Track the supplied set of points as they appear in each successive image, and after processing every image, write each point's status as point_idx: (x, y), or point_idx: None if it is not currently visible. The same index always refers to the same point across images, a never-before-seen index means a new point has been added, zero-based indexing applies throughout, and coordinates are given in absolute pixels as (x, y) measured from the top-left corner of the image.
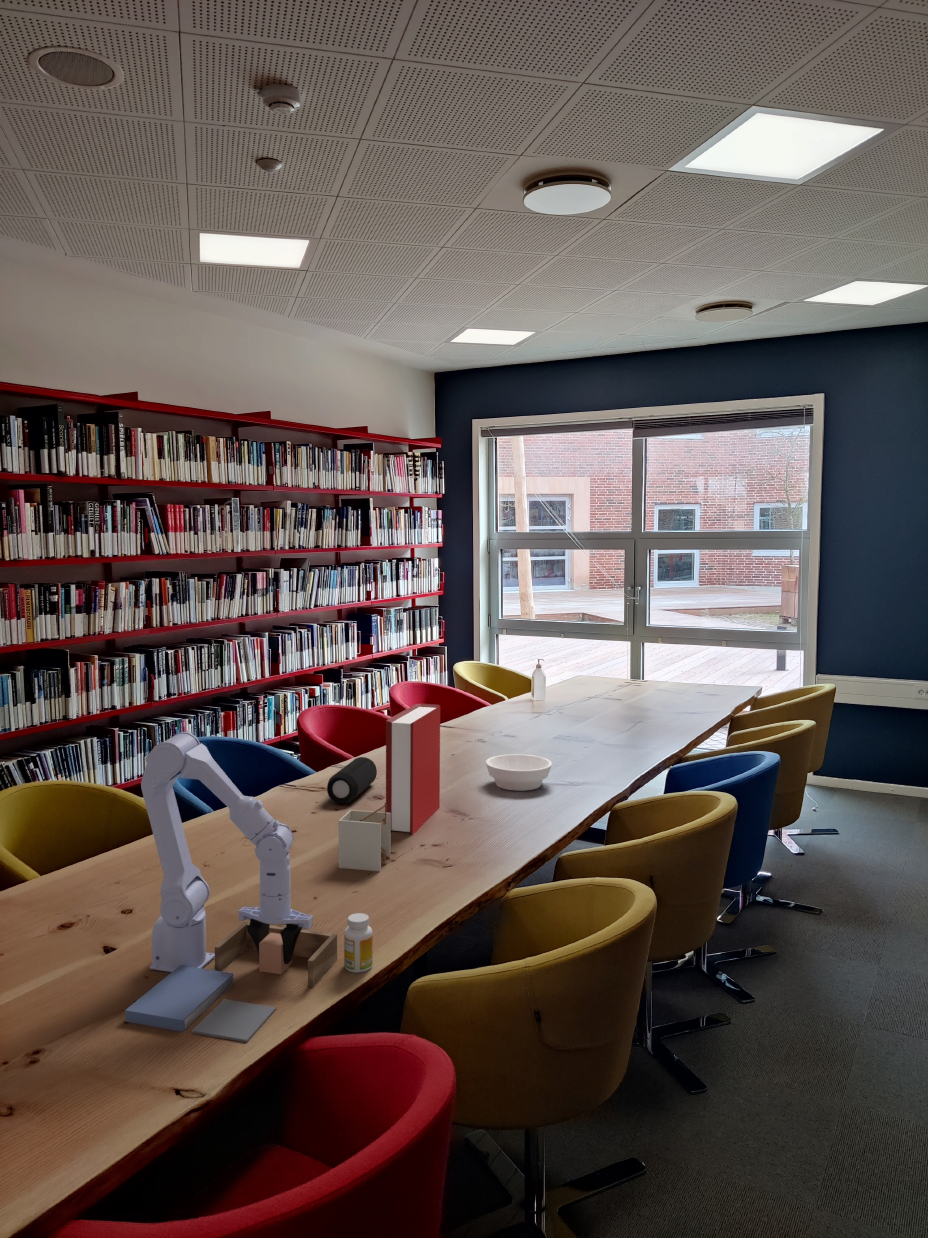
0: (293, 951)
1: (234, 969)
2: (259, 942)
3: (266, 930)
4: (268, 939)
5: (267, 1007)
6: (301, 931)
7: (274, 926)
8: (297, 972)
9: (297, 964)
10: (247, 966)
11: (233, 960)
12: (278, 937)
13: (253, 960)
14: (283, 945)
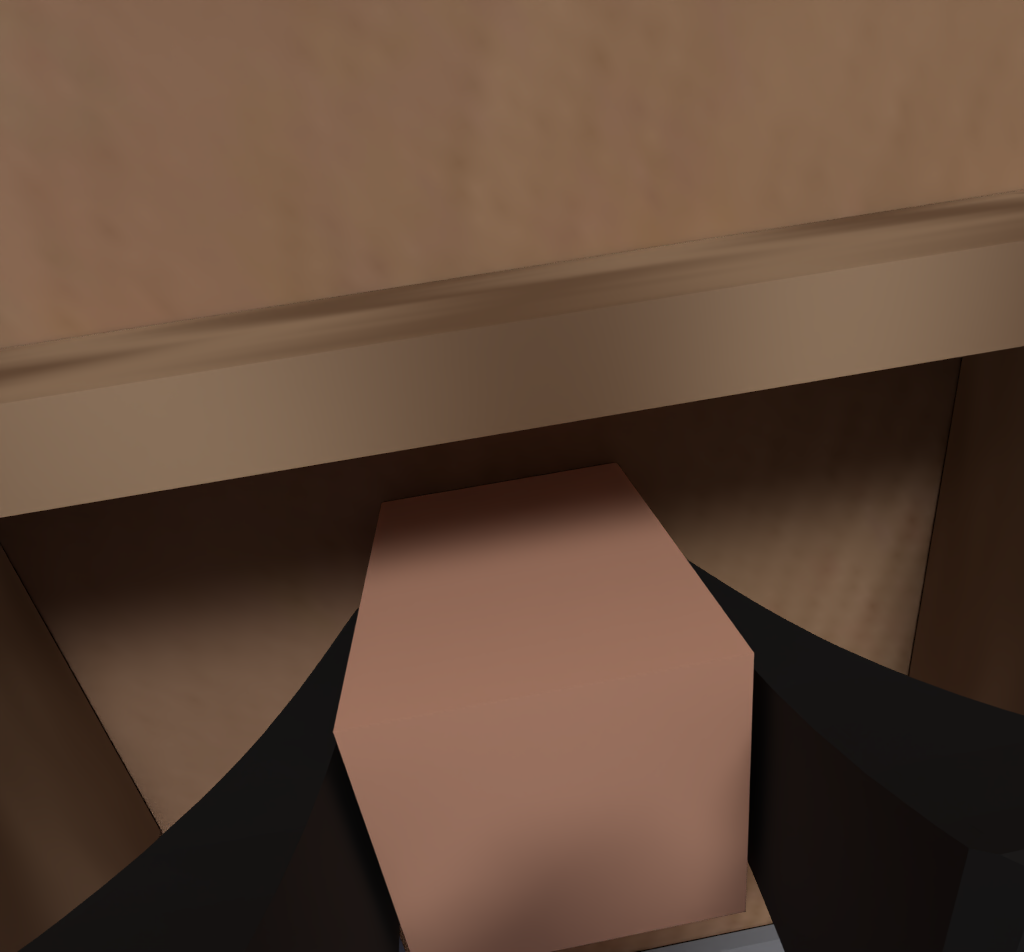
0: (723, 584)
1: (209, 747)
2: (395, 950)
3: (330, 915)
4: (470, 883)
5: (766, 950)
6: (799, 362)
7: (116, 408)
8: (741, 566)
9: (676, 456)
10: (268, 672)
11: (64, 668)
12: (574, 785)
13: (227, 575)
14: (764, 884)
